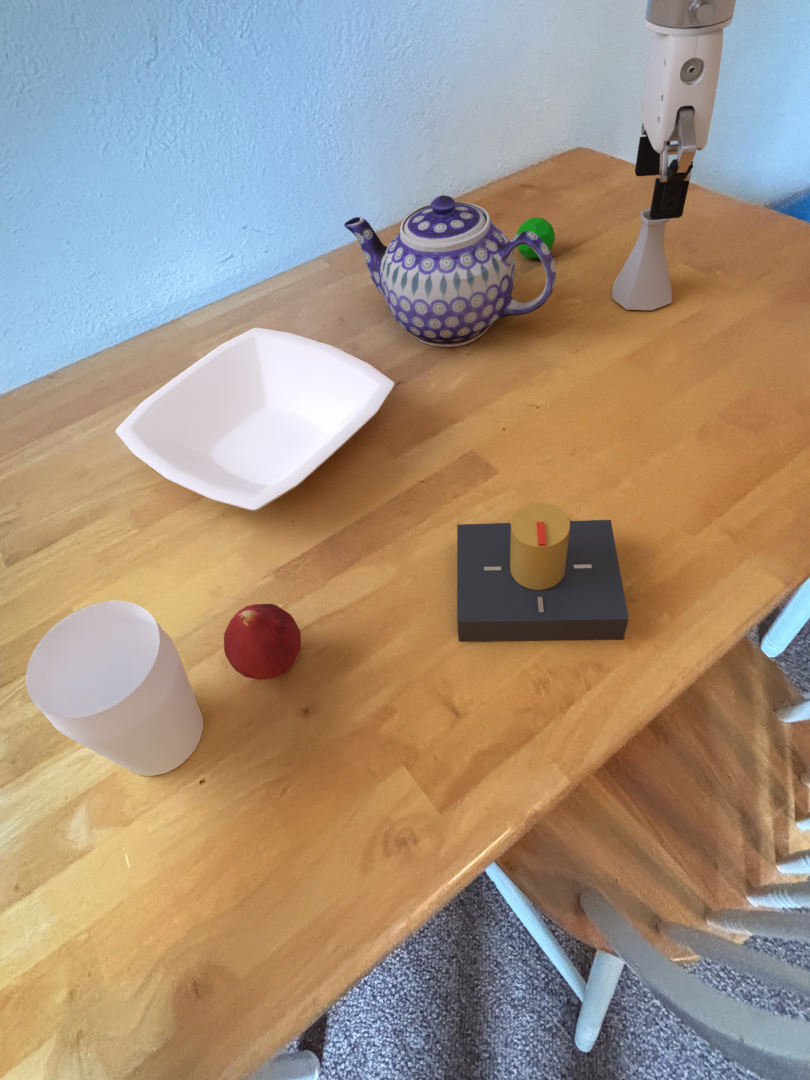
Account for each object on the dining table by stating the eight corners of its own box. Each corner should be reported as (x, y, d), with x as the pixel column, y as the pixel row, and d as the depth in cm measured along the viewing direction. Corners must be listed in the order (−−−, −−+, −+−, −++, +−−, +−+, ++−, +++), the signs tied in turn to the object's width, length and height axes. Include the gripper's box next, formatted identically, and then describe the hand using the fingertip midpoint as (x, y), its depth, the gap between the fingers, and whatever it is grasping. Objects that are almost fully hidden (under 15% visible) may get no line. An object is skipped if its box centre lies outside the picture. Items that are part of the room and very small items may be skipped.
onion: (272, 624, 60) (246, 567, 54) (324, 655, 58) (303, 599, 52) (225, 675, 58) (192, 622, 51) (277, 710, 55) (248, 658, 49)
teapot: (571, 306, 85) (582, 179, 74) (524, 381, 77) (529, 252, 66) (389, 273, 95) (374, 155, 83) (330, 337, 86) (304, 216, 75)
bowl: (117, 475, 74) (93, 435, 70) (270, 357, 85) (257, 316, 81) (267, 567, 64) (250, 526, 60) (419, 420, 75) (414, 376, 71)
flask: (603, 284, 88) (612, 204, 80) (661, 275, 88) (676, 194, 80) (620, 317, 83) (633, 235, 75) (682, 307, 83) (700, 224, 75)
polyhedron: (546, 268, 91) (548, 232, 88) (510, 262, 93) (510, 227, 89) (558, 248, 94) (560, 213, 90) (523, 244, 96) (524, 209, 92)
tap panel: (606, 541, 62) (611, 518, 60) (623, 639, 56) (629, 617, 53) (458, 545, 64) (457, 523, 61) (458, 641, 57) (457, 620, 55)
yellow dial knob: (509, 547, 59) (509, 500, 55) (562, 546, 59) (567, 498, 54) (511, 590, 56) (512, 544, 52) (567, 589, 56) (573, 543, 51)
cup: (159, 665, 59) (96, 580, 50) (242, 711, 55) (191, 629, 46) (78, 758, 54) (-7, 683, 45) (164, 815, 51) (90, 746, 42)
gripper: (761, 29, 57) (711, 233, 70) (712, -29, 68) (677, 157, 81) (665, 39, 58) (633, 238, 71) (632, -21, 69) (610, 162, 82)
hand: (657, 195), depth 76 cm, fingers open, 9 cm apart
